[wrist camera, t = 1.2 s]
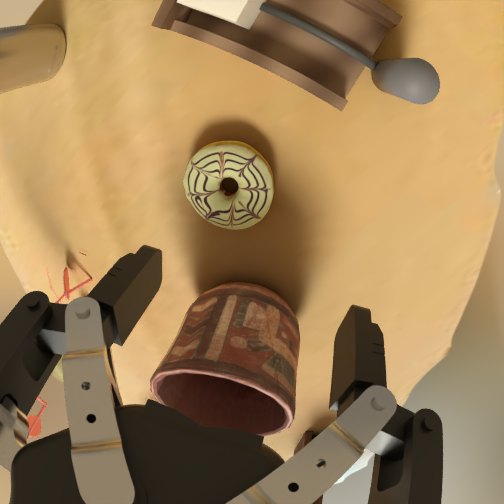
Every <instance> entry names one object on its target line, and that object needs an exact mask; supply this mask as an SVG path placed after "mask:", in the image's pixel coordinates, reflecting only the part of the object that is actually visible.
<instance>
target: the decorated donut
mask: <svg viewBox="0 0 504 504" xmlns="http://www.w3.org/2000/svg"><path fill="white" fill-rule="evenodd" d="M227 177H232V178H234V179H235V180H236V181H237V183H238V186H239V189H238V190H237V191H236V192H235V193H229V192H227V191H226V190H225V189H224V188H223V187H222V180H223V179H224V178H227ZM183 185H184V188H185V190H186V193H185V195H186V197H187V198H188V200H189V201H190V202H191V204H192V206H193V207H194V208H195V210H196V211H197V212H198V213H199V215H200V216H202V217H203V218H204V219H205V220H207V221H208V222H210V223H212V224H214V225H216V226H218V227H222V228H226V229H233V230H239V229H246V228H249V227H250V226H252V225H254V224H256V223H258V222H259V221H261V220H262V219H263V218H264V216H265V215H266V214H267V212H268V210H269V208H270V205H271V202H272V199H273V195H274V179H273V174H272V170H271V167H270V166H269V164H268V162H267V161H266V160H265V158H264V157H263V156H262V155H261V154H260V153H259V152H258V151H256V150H255V149H254V148H253V147H251V146H250V145H248V144H246V143H243V142H240V141H220V142H219V141H218V142H213V143H211V144H208V145H206V146H204V147H203V148H201V149H200V150H199V151H198V152H197V153H196V154H195V155H194V156H193V157H192V158H191V159H190V161H189V163H188V166H187V168H186V172H185V176H184V178H183Z"/></svg>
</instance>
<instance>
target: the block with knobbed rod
mask: <svg viewBox="0 0 504 504" xmlns="http://www.w3.org/2000/svg"><path fill="white" fill-rule="evenodd" d="M266 1H267V0H177V3H180V4H182V5H185V6H188V7H190V8H193V9H195V10H198V11H200V12H203V13H206V14H209V15H212V16H215V17H218V18H220V19H223V20H226V21H228V22H231V23H234V24H236V25H239V26H241V27H243V28H246V29H248V30H250V28H251V26H252V25H253V23H254V21H255V19H256V18H257V16H258V14H259V13H260V11H263V12H266V13H268V14H270V15H273V16H275V17H277V18H280V19H282V20H284V21H286V22H288V23H290V24H292V25H294V26H297V27H299V28H301V29H303V30H305V31H307V32H309V33H310V34H312V35H314V36H316V37H318V38H320V39H322V40H324V41H325V42H327V43H329V44H331V45H333V46H334V47H336V48H338V49H340V50H341V51H343V52H345V53H346V54H348V55H350V56H351V57H353V58H354V59H356V60H358V61H359V62H361V63H362V64H364V65H365V66H367V67H368V68H370V69H372V74H371V75H372V80H373V82H374V84H375V86H376V87H377V88H378V89H380V90H381V91H383V92H386V93H389V94H392V95H394V96H397V97H400V98H402V99H405V100H407V101H410V102H412V103H415V104H426V103H429V102H431V101H432V100H433V99H435V97H436V96H437V94H438V92H439V88H440V81H439V76H438V74H437V72H436V70H435V69H434V67H433V66H432V65H431V64H430V63H428V62H427V61H425V60H423V59H419V58H405V59H392V60H383V61H380V62H378V63H377V62H376V61H374V60H373V59H371V58H370V57H368V56H366V55H365V54H363V53H362V52H360V51H359V50H357V49H355V48H354V47H352V46H350V45H349V44H347V43H345V42H344V41H342V40H340V39H338V38H337V37H335V36H333V35H331V34H330V33H328V32H326V31H324V30H322V29H320V28H318V27H317V26H315V25H313V24H311V23H309V22H307V21H305V20H303V19H301V18H299V17H296V16H294V15H292V14H290V13H288V12H286V11H283V10H281V9H279V8H277V7H274V6H272V5H270V4H267V3H266Z"/></svg>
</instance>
